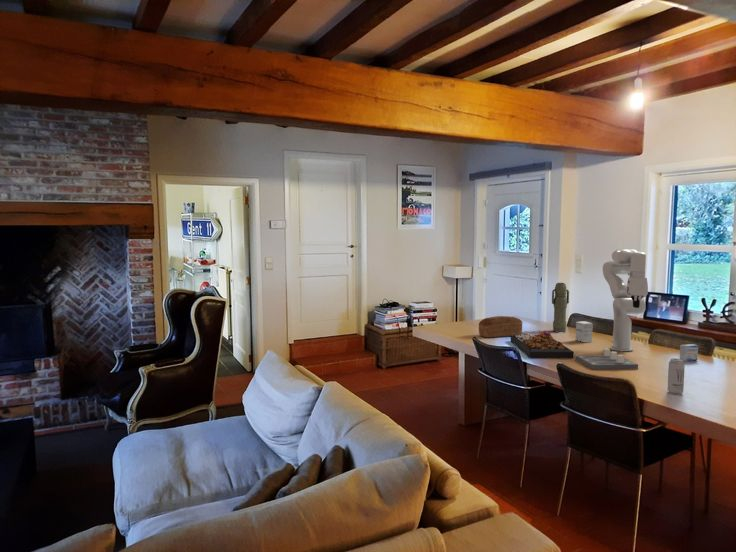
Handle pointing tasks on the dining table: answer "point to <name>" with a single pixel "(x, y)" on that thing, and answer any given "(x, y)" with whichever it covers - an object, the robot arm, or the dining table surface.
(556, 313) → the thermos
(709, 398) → the dining table surface
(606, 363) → the switch board
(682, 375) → the energy drink can
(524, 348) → the food platter
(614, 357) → the handle middle
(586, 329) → the white ridged canister
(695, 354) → the medicine box
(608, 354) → the handle
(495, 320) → the bread
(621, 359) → the handle
